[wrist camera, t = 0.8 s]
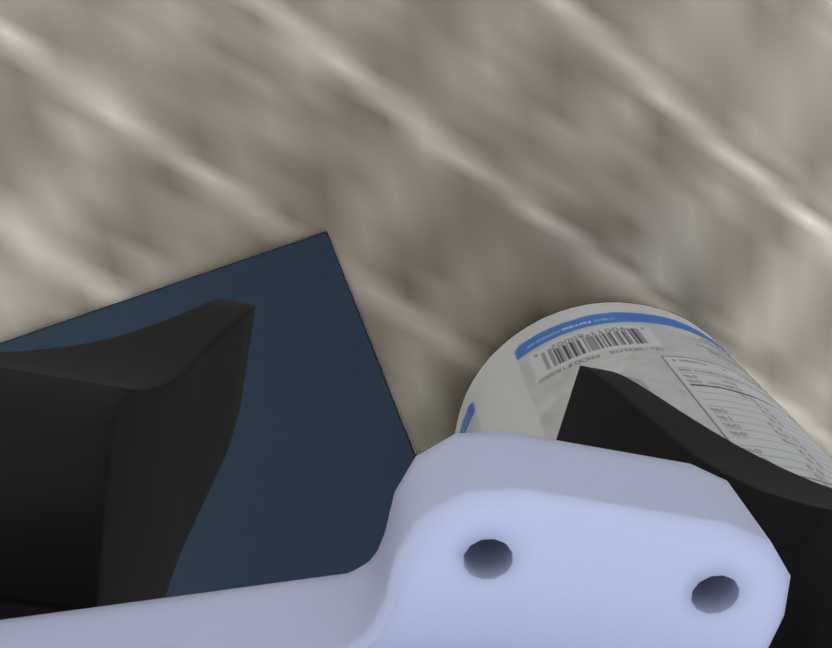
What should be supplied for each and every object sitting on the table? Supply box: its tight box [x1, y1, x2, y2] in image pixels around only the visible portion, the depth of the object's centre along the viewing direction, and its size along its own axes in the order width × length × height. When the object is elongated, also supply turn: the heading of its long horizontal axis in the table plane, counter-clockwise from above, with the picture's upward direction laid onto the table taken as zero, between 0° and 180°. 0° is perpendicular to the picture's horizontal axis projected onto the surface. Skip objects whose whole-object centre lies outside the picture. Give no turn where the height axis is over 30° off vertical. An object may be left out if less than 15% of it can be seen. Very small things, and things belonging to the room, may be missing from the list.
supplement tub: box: [455, 302, 832, 489], centre depth 19 cm, size 10×10×15 cm
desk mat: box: [0, 232, 415, 598], centre depth 27 cm, size 16×20×1 cm
